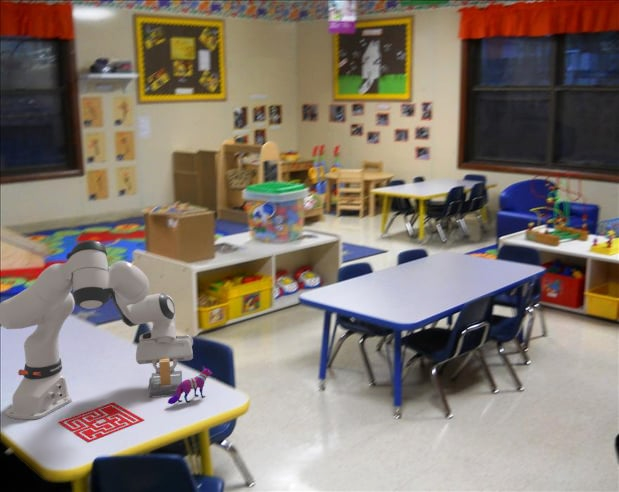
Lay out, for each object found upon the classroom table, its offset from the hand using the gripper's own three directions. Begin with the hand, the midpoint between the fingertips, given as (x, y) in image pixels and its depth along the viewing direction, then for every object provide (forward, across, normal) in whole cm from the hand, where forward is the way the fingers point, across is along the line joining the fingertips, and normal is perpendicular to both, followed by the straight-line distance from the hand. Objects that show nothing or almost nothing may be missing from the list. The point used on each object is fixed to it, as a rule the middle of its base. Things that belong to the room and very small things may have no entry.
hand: (165, 372), depth 259 cm
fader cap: (+3, 0, -4) cm, 5 cm away
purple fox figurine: (+12, -9, +3) cm, 16 cm away
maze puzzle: (+20, +20, +10) cm, 30 cm away
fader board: (+2, 0, -7) cm, 7 cm away
